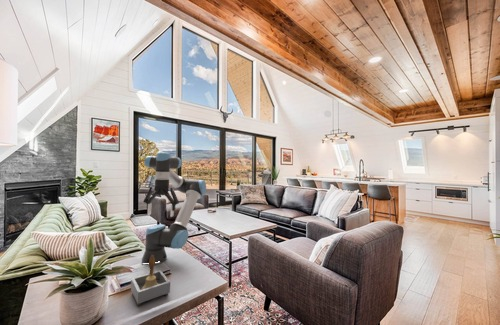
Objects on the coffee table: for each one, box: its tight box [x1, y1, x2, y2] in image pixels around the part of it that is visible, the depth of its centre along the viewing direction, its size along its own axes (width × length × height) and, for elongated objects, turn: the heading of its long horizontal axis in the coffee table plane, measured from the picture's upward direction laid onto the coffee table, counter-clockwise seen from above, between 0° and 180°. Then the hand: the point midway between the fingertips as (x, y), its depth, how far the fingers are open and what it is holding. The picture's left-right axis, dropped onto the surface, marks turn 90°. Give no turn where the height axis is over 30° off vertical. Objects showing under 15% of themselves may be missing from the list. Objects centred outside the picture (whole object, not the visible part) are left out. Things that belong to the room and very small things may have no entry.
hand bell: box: [141, 255, 158, 290], centre depth 101 cm, size 8×8×16 cm
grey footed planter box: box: [130, 269, 171, 307], centre depth 102 cm, size 14×14×7 cm
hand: (160, 215), depth 121 cm, fingers open, 13 cm apart
